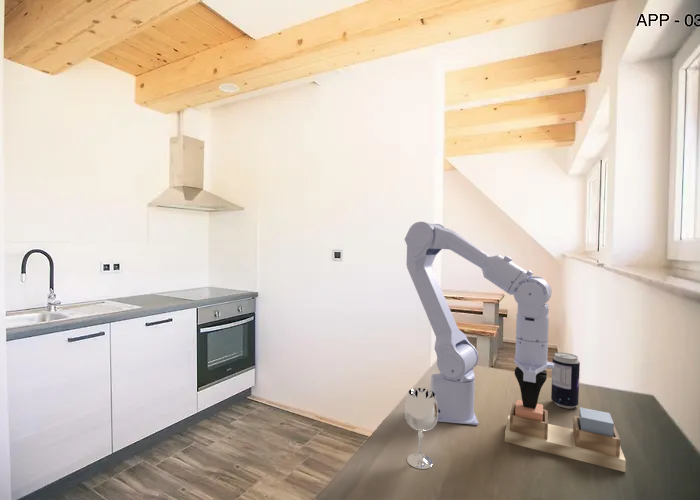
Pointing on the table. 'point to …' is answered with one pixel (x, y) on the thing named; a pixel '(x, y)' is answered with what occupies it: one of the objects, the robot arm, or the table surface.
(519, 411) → the terracotta key
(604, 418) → the slate key
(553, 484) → the table surface
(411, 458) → the wineglass
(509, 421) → the wooden socket board
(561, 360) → the beverage can
